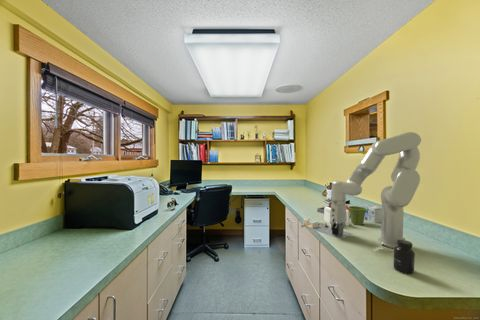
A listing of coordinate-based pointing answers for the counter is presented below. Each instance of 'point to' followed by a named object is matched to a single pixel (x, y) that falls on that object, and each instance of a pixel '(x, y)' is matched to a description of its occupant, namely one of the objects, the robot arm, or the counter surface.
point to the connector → (339, 229)
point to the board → (322, 228)
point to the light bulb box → (373, 213)
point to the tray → (323, 210)
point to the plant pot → (357, 214)
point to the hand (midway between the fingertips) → (337, 233)
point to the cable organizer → (327, 216)
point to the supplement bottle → (404, 257)
